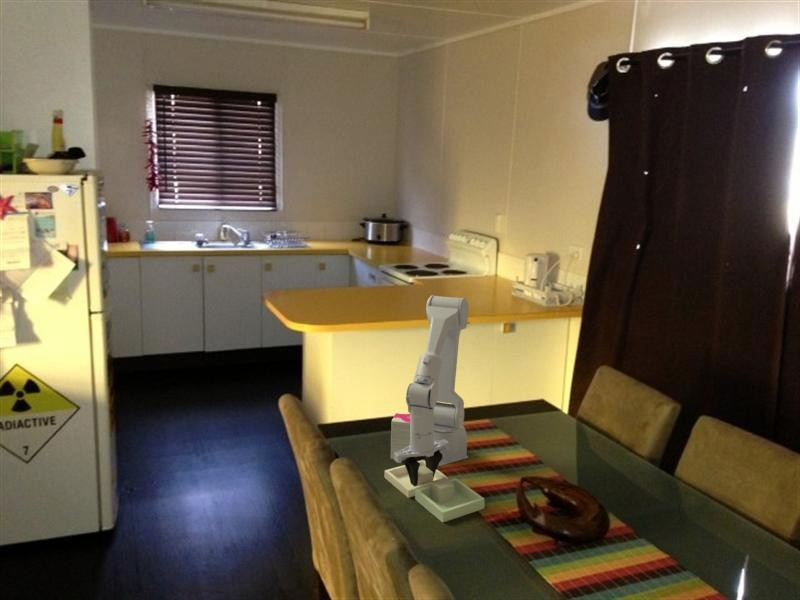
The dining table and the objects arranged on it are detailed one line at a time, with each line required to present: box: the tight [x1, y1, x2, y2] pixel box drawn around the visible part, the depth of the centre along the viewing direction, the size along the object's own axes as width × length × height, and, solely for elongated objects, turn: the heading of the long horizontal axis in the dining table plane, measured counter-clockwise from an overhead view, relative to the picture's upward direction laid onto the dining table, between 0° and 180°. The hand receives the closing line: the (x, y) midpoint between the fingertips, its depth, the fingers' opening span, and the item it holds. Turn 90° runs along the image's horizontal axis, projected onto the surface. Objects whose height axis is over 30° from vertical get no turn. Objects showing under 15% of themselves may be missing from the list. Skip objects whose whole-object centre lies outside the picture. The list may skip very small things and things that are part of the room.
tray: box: [384, 459, 450, 499], centre depth 170 cm, size 12×12×2 cm
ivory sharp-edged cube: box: [411, 466, 433, 487], centre depth 168 cm, size 4×4×4 cm
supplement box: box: [390, 412, 410, 461], centre depth 183 cm, size 6×6×12 cm
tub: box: [414, 477, 485, 523], centre depth 160 cm, size 12×12×3 cm
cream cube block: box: [431, 478, 454, 504], centre depth 162 cm, size 4×4×4 cm
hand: (421, 481), depth 168 cm, fingers closed on ivory sharp-edged cube, 4 cm apart
